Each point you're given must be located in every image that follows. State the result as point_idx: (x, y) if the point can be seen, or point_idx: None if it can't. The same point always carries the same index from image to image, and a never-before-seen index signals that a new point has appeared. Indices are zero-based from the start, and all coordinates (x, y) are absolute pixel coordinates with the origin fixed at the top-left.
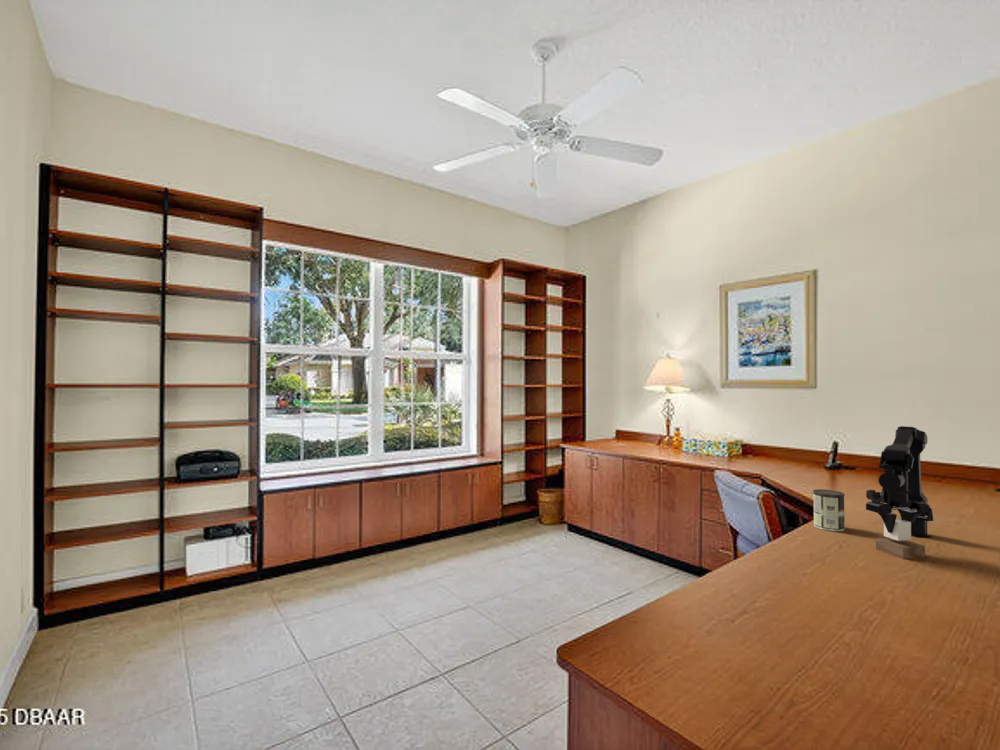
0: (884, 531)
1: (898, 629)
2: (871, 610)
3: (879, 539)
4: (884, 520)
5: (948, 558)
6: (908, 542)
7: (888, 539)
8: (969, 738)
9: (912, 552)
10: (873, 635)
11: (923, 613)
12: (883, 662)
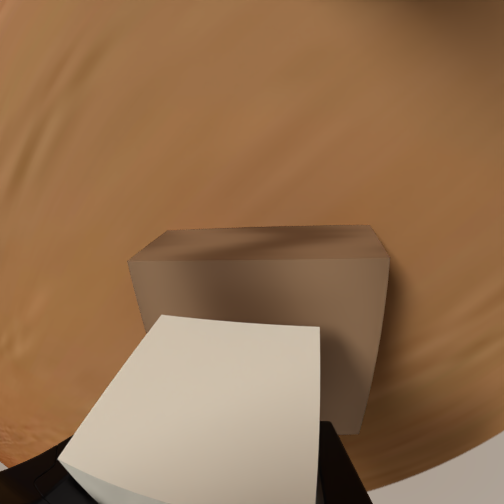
0: (140, 350)
1: (22, 457)
2: (7, 435)
3: (141, 284)
4: (46, 467)
5: (441, 401)
6: (326, 382)
7: (224, 299)
8: None
9: None
10: (4, 445)
11: None
12: (6, 455)
